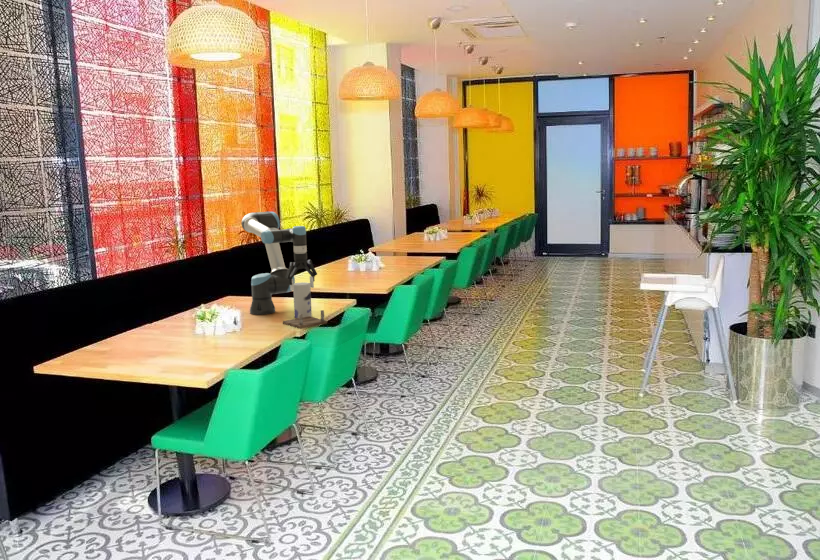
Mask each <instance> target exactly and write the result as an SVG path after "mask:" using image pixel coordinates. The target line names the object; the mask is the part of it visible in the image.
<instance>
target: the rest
mask: <svg viewBox="0 0 820 560" xmlns="http://www.w3.org/2000/svg"><path fill="white" fill-rule="evenodd" d="M282 324H283V325H286V326H289V325H290V327H292V326H293V328H296V327H297V329H306V328H311V327H317V326H321V325H327V324H328V320H326V319H325V310H320V318H317V317H315V316H312V317H310V316H308V317H303V314H299V318H293V319H286V320H282Z"/></svg>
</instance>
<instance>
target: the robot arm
mask: <svg viewBox="0 0 820 560" xmlns="http://www.w3.org/2000/svg"><path fill="white" fill-rule="evenodd" d="M280 223H281V222H280V217H279V215H278V214H277V213H276V212H274V211H256V212H254V211H253V212H250V213H247V214H246V215H244V216H243V217H242V219H241V223H240V224H241V226H242V229H243V230H244V231H245V232H248V233H252V234H253V235H256V236H257V237H259V238H260V239H261V242H262V243H263V244H264V246H265V249H266V253H267V258H268V261H269V265H270V268H271V271H270V273H269V272H265V273H263V272H262V273H258V274H255V275H253V276H252V277H251V281H250V286H251V299H252V300H251V303H250V308H249V313H250V314H251V315H259V316H260V315H270V314H275V313H276V307H275V304H274V302H273V297H272V295H277V294H285V293H290V292H293V291H294V283H296V280H295V275H296V274H297V272H298V271H299V270H302V269H305V270H306V272H307V273H308V274H309V275H310V276H309V283H310V287H311V288H312V289H313V288H314V287H315V286H314V285H315V284H314V283H315V277H316V276H317V275H318V272H317V270H316V269H315V267H314V264H313V260H311V259H308V253H307V252H308V250H307V249H308V248H307V246H308V245H307V229H306V226H305V225H296V226H293V227H292V228H289V227H288V228H285V229H280V227H281V224H280ZM288 242H289V243H290V242H291V243H293V245H292V247H293V260H294V261H289V266H288V268H287V267H286V265H285V262H284V258H283V257H284V256H283V254H282V250H281V245H280V243H288Z"/></svg>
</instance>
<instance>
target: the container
mask: <svg viewBox="0 0 820 560" xmlns="http://www.w3.org/2000/svg"><path fill="white" fill-rule="evenodd" d="M311 291H312V289H311V287H310V282H303V281H302V282H295V283H294V291H292V292H293V309H294V312H293V313H294V319H297V318H299V314H303V317H308V316H310V317H313V316H312V315H313V314H312V293H311Z"/></svg>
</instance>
